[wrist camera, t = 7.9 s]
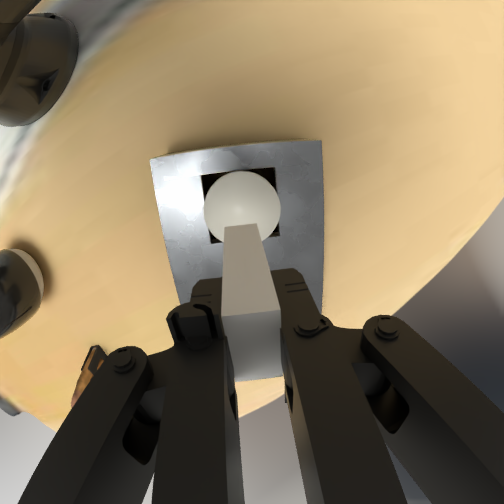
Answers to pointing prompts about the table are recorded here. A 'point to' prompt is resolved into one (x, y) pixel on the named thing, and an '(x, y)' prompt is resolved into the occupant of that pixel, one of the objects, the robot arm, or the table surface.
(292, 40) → the table surface
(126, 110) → the table surface
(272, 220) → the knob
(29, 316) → the pump dispenser
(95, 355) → the ammunition clip
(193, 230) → the housing
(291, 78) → the table surface
